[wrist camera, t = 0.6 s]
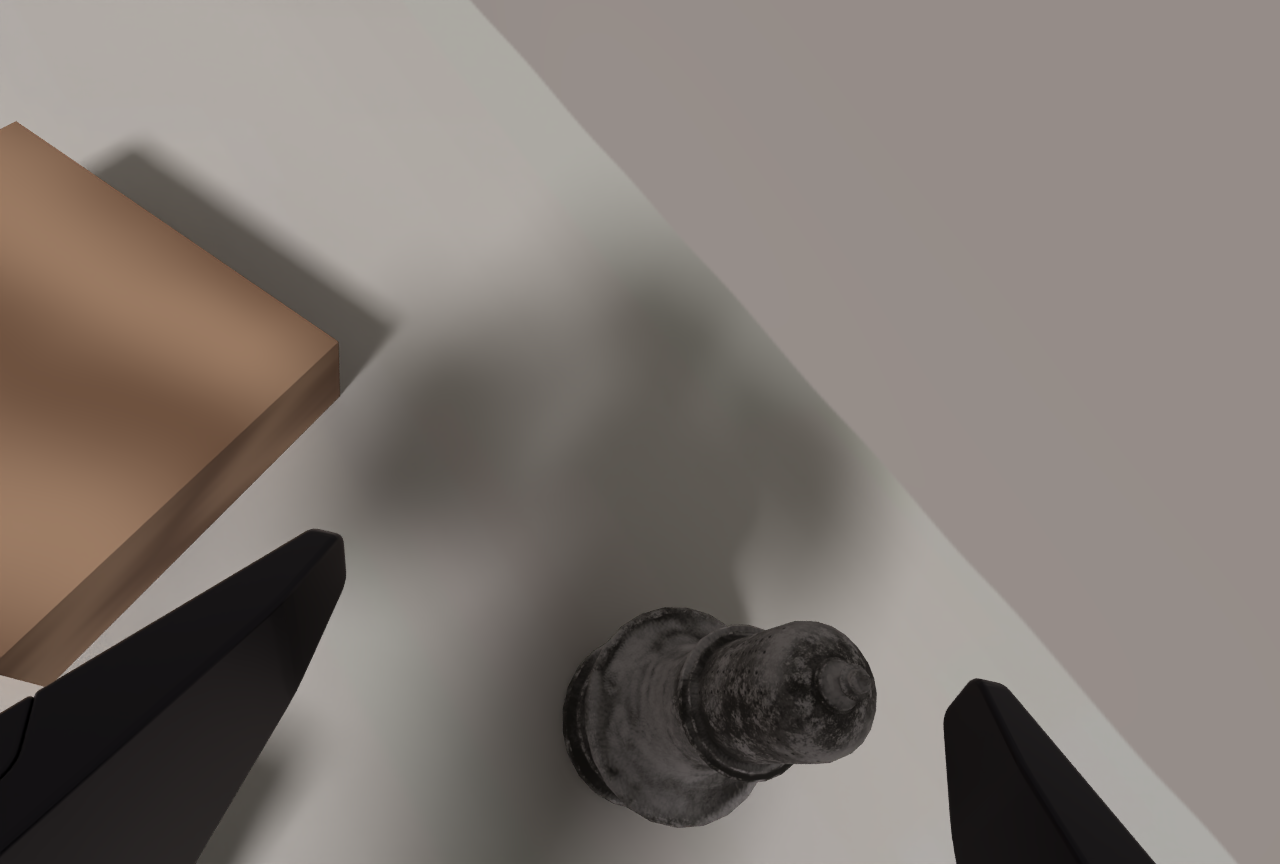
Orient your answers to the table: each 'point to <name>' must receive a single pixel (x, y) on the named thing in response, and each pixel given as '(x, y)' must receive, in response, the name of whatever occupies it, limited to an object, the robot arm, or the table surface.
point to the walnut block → (123, 400)
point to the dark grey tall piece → (711, 711)
